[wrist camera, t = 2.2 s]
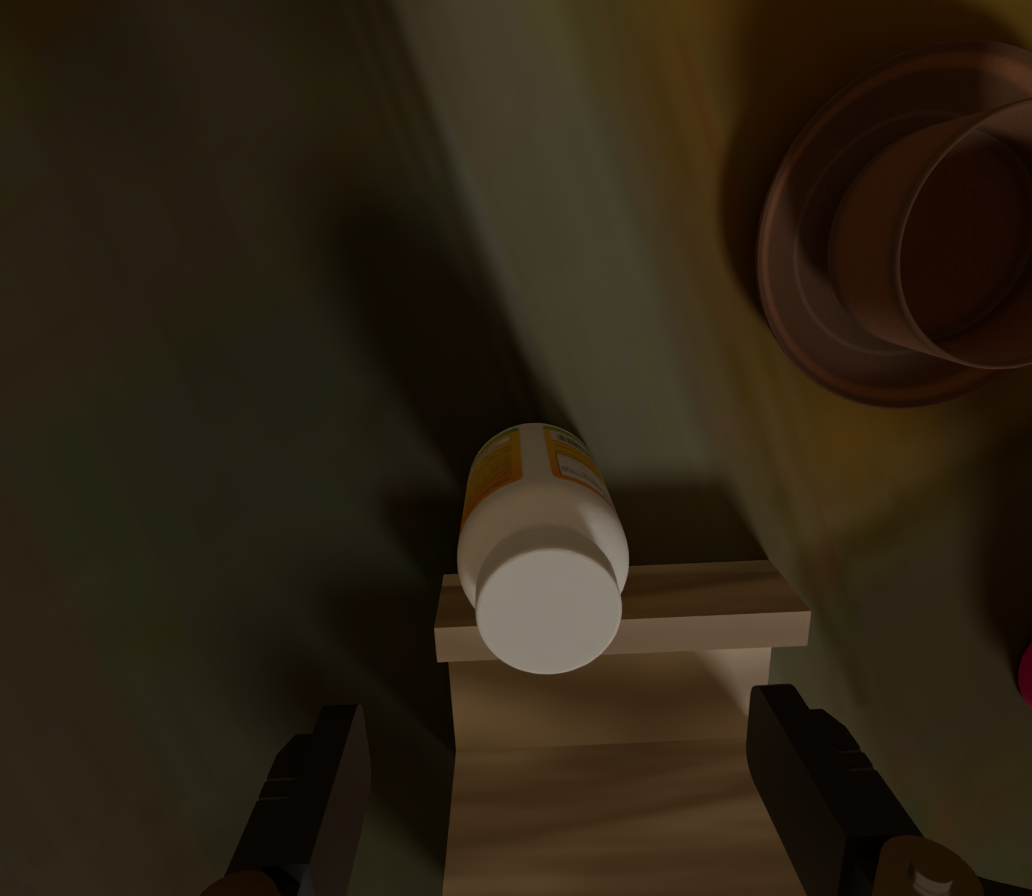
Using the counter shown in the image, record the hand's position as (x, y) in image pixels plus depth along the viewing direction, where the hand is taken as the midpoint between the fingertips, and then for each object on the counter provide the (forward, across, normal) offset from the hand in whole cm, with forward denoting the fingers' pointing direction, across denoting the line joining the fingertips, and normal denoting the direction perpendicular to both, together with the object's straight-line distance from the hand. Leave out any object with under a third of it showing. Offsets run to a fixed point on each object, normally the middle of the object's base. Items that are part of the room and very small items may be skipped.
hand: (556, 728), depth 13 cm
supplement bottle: (+14, 0, 0) cm, 14 cm away
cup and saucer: (+14, -14, -9) cm, 22 cm away
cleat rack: (+14, -3, +9) cm, 17 cm away
